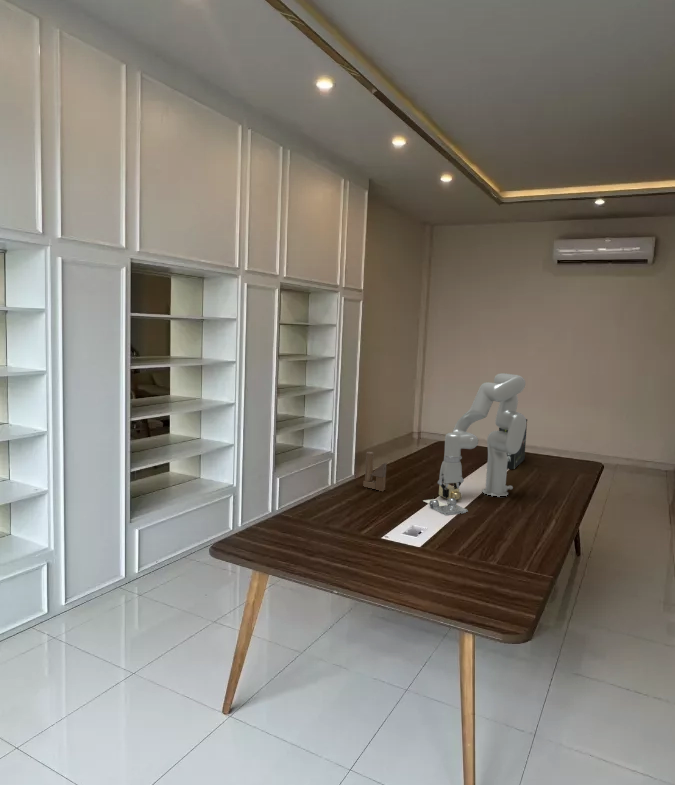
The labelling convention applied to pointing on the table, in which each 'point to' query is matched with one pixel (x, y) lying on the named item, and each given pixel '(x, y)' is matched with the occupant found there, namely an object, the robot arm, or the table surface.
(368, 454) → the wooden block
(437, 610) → the table surface
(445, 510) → the hinge base
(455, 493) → the brass knob plate
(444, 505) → the pad
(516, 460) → the router box
